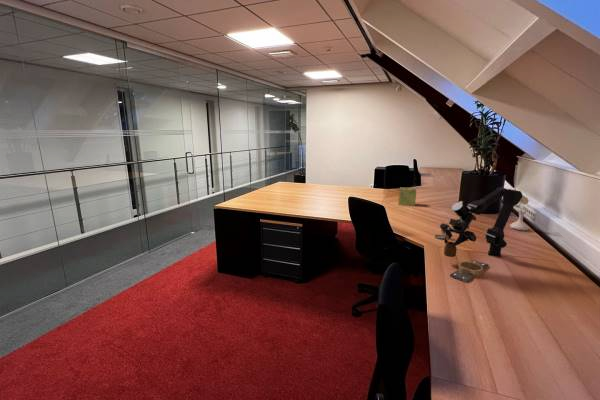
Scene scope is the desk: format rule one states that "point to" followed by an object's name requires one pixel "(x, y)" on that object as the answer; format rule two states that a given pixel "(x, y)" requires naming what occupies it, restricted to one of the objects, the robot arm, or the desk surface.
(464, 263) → the wooden ring bracket
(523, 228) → the flower in vase
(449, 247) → the utensil holder
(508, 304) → the desk surface
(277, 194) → the desk surface
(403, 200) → the protein box
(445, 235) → the pocket watch
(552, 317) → the desk surface
